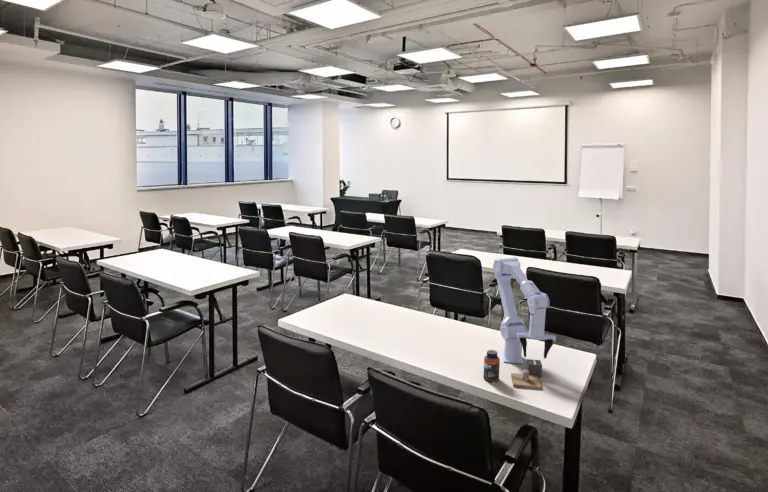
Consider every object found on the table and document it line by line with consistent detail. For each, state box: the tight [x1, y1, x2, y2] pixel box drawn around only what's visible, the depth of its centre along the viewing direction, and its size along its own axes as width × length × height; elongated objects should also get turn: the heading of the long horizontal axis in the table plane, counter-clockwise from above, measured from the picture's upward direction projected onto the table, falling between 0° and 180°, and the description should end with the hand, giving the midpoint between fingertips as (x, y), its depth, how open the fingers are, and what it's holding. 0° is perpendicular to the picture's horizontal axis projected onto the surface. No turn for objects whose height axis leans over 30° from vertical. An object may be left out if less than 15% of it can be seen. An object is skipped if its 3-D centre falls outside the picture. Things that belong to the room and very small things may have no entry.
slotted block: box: [525, 358, 543, 378], centre depth 187 cm, size 5×5×6 cm
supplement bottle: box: [483, 349, 501, 383], centre depth 181 cm, size 6×6×11 cm
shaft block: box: [510, 369, 542, 390], centre depth 180 cm, size 10×10×4 cm
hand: (534, 356), depth 186 cm, fingers open, 7 cm apart
